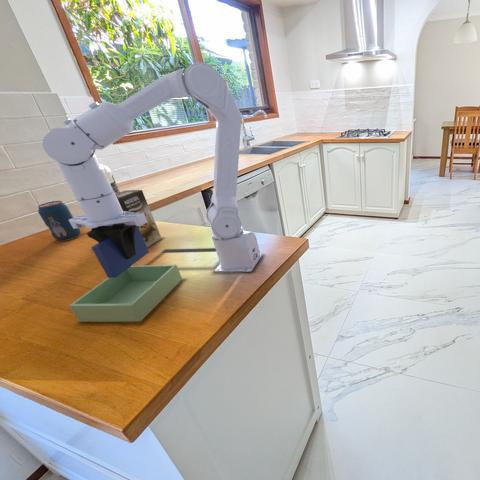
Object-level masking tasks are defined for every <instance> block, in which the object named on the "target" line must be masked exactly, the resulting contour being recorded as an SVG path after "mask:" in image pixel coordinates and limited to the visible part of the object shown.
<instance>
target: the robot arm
mask: <svg viewBox="0 0 480 480" xmlns="http://www.w3.org/2000/svg"><path fill="white" fill-rule="evenodd" d="M189 97H190V98H191V99H193V100H194V101H196V102H197V103H199V104H200V105H202V106H203V107H204V108H205V109H206V110H207V111H208V113H210V114H211V116H212V117H213V118H214V119H215V120H216V122H215V143H214V144H215V145H214V167H213V171H214V172H213V190H212V191H213V192H212V195H211V199H210V205H209V206H208V207H207V210H206V214H205V215H206V219H207V220H208V222H209V224H210V227H211V233H210V237H211V239H212V242H213V245H214V248H215V249H216V255H217V258H218V261H219V264H218V266H217V267H215V269H214V272H218V273H219V272H241V273H250V272H252V271H253V270H254V269H255V267H256V265H257V264H258V262H259V261H260V259H262V256H263V255H262V253H261V251H260V248H259V243H258V239H257V236H256V234H255V232H253V231H248V230H245V229H244V228H243V226H242V221H241V219H240V216H239V205H238V200H237V188H238V187H237V186H238V176H239V175H238V173H239V157H240V144H241V132H242V131H241V130H242V129H241V128H242V113H241V111H240V109H239V107H238V104H237V102H236V101H235V98H234V96H233V94H232V92H231V89H230V87H229V83H228V81H227V80H226V79H225V78H224V77H223V76H222V74H220V72H219V71H218V70H217V69H216V68H215V67H214V66H213V65H211V64H209V63H206V62H202V61H198V62H193V63H192V64H190V65H189V66H188V67H187V68H186V69H185V67H183V68H180V69H177V70H174V71H172V72H169V73H167V74H165V75H163V76H161V77H159V78H157V79H156V80H154V81H153V82H151V83H150V84H148V85H146V86H145V87H143V88H142V89H140V90H139V91H137V92H136V93H134V94H132V95H131V96H130V97H128V98H126V99H125V100H123V101H121V102H120V103H114V102H110V101H102V102H101V103H98V101H93V102H92V103H89V105H88V107H89V108H90V109H88V110H86V111H84V113H81V114H80V115H78V116H76V117H75V118H73V119H71V118H69V117H68V118H66V119H64V120H63V121H62V123H63V124H64V125H65V127H55V128H54V127H53V128H50V130H49V131H48V132H46V134H45V135H44V136H43V138H42V147H43V150H44V152H45V153H46V155H48V157H49V158H51V159H52V160H53V161H55V162H56V163H57V165H58V167H59V168H60V171H61V172H62V175H63V177H64V180H65V181H66V183H67V185H68V187H69V189H70V191H71V193H72V195H73V196H74V198H75V200H76V202H77V203H78V205H79V207H80V209H81V211H82V213H83V214H84V215H76V216H73V218H72V219H69V222H70V223H71V225H72V227H73V228H74V229H76V228H86V229H90V230H89V231H87V232H86V235H87V237H89V238H91V239H93V240H94V241H96V242H97V243H100V242H102V241H103V240H105V239H107V238H108V237H110V238H111V239H112V240H113V241H114V242H115V244H116V245H117V246H118V248H119V249H120V251H121V253H122V254H123V256H124V257H125V258H126V259H130V258H131V257H133V256H134V255H136V251H135V243H134V235H135V228H136V226H142V225H144V224H145V223H147V222H148V221H147V219H146V217H145V215H144V213H133V212H126V211H123V210H122V208H121V206H120V204H119V201H118V199H117V197H116V195H115V193H114V191H113V189H112V187H111V184H110V182H109V180H108V178H107V176H106V174H105V172H104V170H103V168H102V167H101V165H102V164H101V163H100V162H99V160H98V157H97V155H96V154H95V153H96V151H97V150H99V151H100V150H102V151H103V150H104V149H106V148H107V147H109V146H110V145H113V143H115V142H117V141H119V140H120V139H122V138H123V137H125V136H127V135H128V134H130V133H132V132H133V131H134V120H135V119H137V118H140V117H141V116H143V115H144V114H146V113H148V112H150V111H152V110H154V109H155V108H157V107H158V106H160V105H162V104H164V103H165V102H167V101H170V100H173V99H175V100H176V99H177V100H178V99H189ZM100 164H101V165H100Z"/></svg>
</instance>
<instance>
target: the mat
mask: <svg viewBox="0 0 480 480" xmlns="http://www.w3.org/2000/svg"><path fill="white" fill-rule="evenodd" d="M211 252H212V253H214V252H216V249H215V247H212V248H176V249H175V248H174V249H172V248H171V249H164V250H163V251H161V252H160V253H161V254H171V253H172V254H173V253H175V254H176V253H178V254H179V253H211ZM216 253H217V252H216Z"/></svg>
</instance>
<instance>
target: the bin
mask: <svg viewBox="0 0 480 480" xmlns="http://www.w3.org/2000/svg"><path fill="white" fill-rule="evenodd" d="M182 280H183V276H182V275H181V272H180V269H179V267H178V264H147V265H144V264H143V265H142V264H141V265H132V266H130V267H129V268H128V269H126V270H125V271H124V272H122V273H121V274H120V275H118V276H117V277H116V278H108V277H107V278H105V279H104V280H102V281H101V282H100V283H97V285H95V286H94V287H93V288H91V289H90V290H89V291H87V292H86V293H84V294H83V295H81V296H80V297H79V298H77V299H76V300H74V301H73V302H72V303H70V304H69V305H68V307H69V308H70V310H71V311H72V313H73V314H74V317H76V319H77V320H78V322H95V323H96V322H107V323H108V322H122V323H123V322H124V323H125V322H141V321H143V320H144V318H146V316H147V315H149V313H151V311H153V310H154V308H155V307H157V306H158V304H159V303H161V301H162V300H164V299H165V297H166V296H168V294H169V293H170V292H171V291H173V289H174V288H175V287H176V286H177V285H178V284H179V283H180V282H181V281H182Z"/></svg>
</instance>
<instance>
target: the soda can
mask: <svg viewBox="0 0 480 480" xmlns="http://www.w3.org/2000/svg"><path fill="white" fill-rule="evenodd" d="M37 208H38V210H37V211H38V212H37V213H38V215H39V216H40V217H41V219H42V221H43V223H44V224H45V226H46V228H47V229H48V232H50V234H51V236H52V238H53V239H55V240H57V241H59V242H66V241H71V240H73V239H76V238H78V237H79V236H80V235H81V231H82V230H81V229H80V228H81V227H80V228H76V229H74V228H73V227H72V225H71V223H70V222H69V219H72V218H74V216H73V214H72V212H71V210H70V209H69V207H68V205H67V204H65V203H64V202H63V201H62V200H53V201H48V202H44V203H41V204H39V205H38V206H37Z"/></svg>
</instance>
